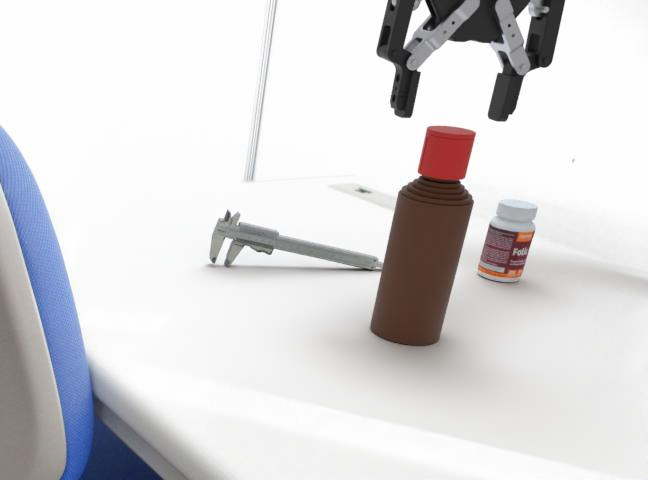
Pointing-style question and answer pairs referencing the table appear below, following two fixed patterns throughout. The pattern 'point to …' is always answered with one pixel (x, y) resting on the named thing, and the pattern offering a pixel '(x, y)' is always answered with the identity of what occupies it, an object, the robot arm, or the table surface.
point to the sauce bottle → (421, 260)
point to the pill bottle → (508, 241)
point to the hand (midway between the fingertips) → (450, 118)
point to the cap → (446, 152)
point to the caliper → (278, 244)
